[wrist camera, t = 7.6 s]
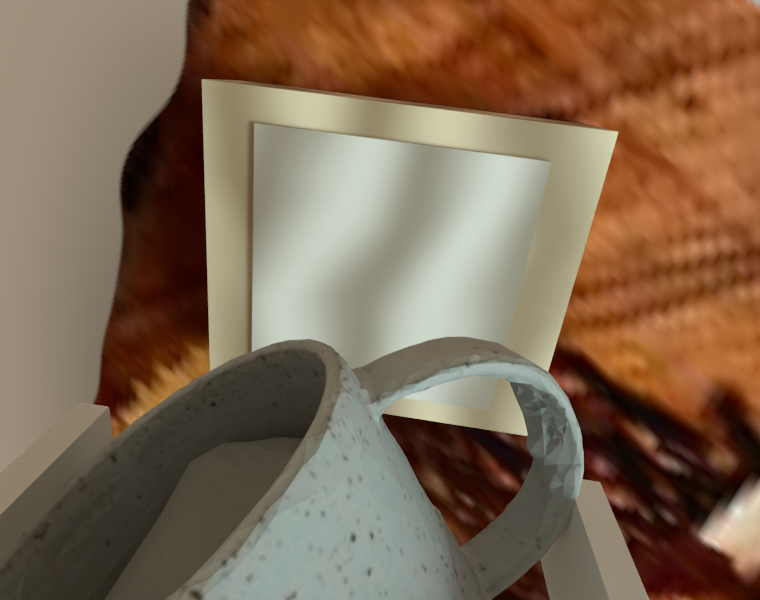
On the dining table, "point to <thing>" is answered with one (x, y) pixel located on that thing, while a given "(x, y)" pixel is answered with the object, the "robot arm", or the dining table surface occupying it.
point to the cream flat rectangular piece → (394, 231)
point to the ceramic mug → (295, 489)
